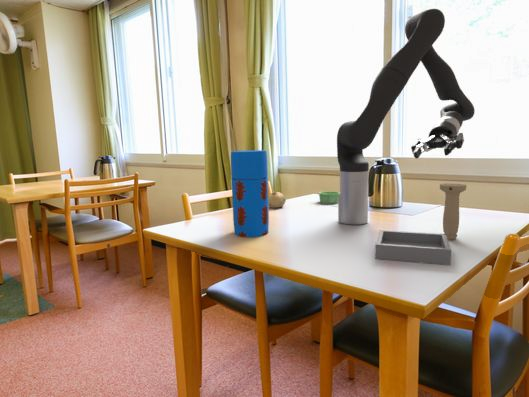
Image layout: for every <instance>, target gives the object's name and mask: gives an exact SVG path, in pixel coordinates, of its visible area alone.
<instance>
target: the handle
mask: <svg viewBox="0 0 529 397" xmlns="http://www.w3.org/2000/svg"><path fill="white" fill-rule="evenodd" d="M439 189H440V191H442V192H444V195H445V196H444V197H445V199H444V207H443V213H442V214H443V215H442V217H443V218H442V230H443V234H446V237H447V239H448V241H451V240H452V241H453V240H454V241H455V240H457V237H458V232H459V226H460V194H462V193H463V192H465V191H466V190H467V184H461V183H440V184H439Z"/></svg>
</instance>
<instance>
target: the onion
mask: <svg viewBox="0 0 529 397" xmlns="http://www.w3.org/2000/svg"><path fill="white" fill-rule="evenodd" d="M285 203H286V197H285V195H284V194H283V193H282V192H279V191H272V192H271V193H270V194H269V193H268V208H273V209H275V208H282V207H284V205H285Z"/></svg>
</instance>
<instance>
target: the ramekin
mask: <svg viewBox="0 0 529 397" xmlns="http://www.w3.org/2000/svg"><path fill="white" fill-rule="evenodd" d="M339 194H340V191H332V190H329V191H319V192H318V196H319V203H320V204H322V205H323V204H324V205H335V204H338V195H339Z"/></svg>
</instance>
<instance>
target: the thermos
mask: <svg viewBox="0 0 529 397" xmlns="http://www.w3.org/2000/svg"><path fill="white" fill-rule="evenodd" d="M230 170H231V190H232V191H231V192H232V193H231V195H232V197H231V198H232V219H233V220H232V221H233V231H234V235H235V236H237V237H240V238H256V237H257V238H259V237H263V236H266V235H268V233H269V227H270V226H269V225H270V224H269V223H270V222H269V221H270V220H269V219H270V217H269V206H268V195H269V181H268V180H269V179H268V178H269V177H268V154H267V150H262V149H261V150H236V151H235V150H232V151H231V152H230Z"/></svg>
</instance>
